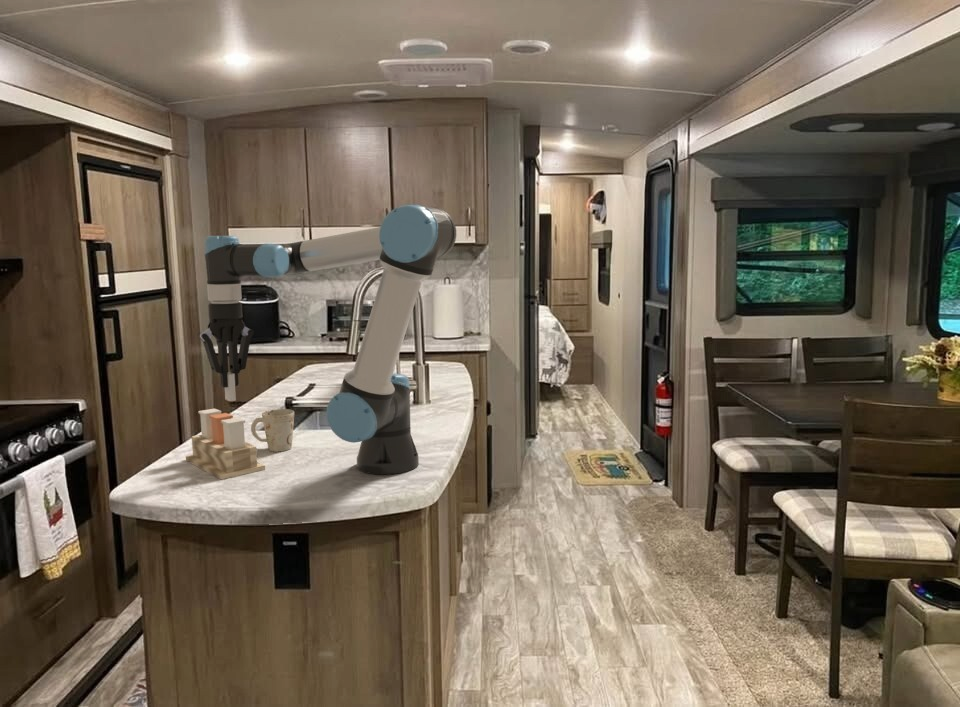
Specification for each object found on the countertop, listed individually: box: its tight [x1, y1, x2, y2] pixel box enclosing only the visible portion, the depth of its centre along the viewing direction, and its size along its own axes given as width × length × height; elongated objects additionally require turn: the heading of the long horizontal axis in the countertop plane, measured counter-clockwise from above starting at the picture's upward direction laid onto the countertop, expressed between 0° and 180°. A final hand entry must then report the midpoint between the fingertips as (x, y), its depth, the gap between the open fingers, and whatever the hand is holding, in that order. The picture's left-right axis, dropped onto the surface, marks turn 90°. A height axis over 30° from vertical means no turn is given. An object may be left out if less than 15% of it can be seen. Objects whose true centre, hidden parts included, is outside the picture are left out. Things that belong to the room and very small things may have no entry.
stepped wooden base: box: [185, 434, 266, 480], centre depth 186 cm, size 22×11×6 cm, turn 42°
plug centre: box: [209, 412, 234, 445], centre depth 185 cm, size 4×4×7 cm
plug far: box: [197, 408, 222, 439], centre depth 190 cm, size 4×4×7 cm
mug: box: [250, 408, 295, 453], centre depth 200 cm, size 8×13×10 cm, turn 78°
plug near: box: [221, 417, 246, 450], centre depth 180 cm, size 4×4×7 cm
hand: (230, 399), depth 178 cm, fingers closed
